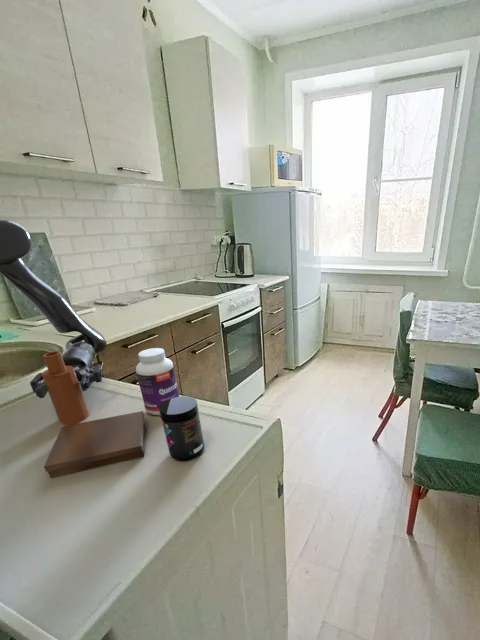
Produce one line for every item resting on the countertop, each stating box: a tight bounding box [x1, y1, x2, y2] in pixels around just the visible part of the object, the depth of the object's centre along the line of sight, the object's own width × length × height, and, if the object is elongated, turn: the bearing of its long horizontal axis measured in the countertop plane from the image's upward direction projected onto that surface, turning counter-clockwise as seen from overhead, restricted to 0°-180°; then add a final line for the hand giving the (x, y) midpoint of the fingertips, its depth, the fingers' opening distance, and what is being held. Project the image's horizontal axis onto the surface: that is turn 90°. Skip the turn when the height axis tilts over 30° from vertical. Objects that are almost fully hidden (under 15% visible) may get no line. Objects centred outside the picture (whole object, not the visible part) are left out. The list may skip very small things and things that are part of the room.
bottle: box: [41, 350, 90, 426], centre depth 79 cm, size 6×6×16 cm
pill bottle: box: [135, 347, 180, 416], centre depth 81 cm, size 8×8×14 cm
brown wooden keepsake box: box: [43, 410, 147, 479], centre depth 70 cm, size 16×14×3 cm
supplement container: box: [159, 395, 205, 462], centre depth 66 cm, size 7×7×10 cm
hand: (61, 390), depth 77 cm, fingers open, 8 cm apart
